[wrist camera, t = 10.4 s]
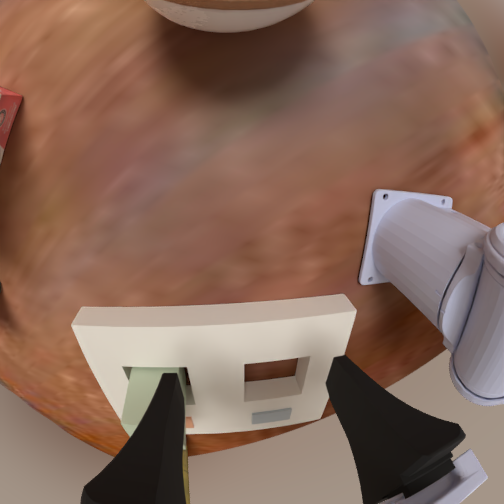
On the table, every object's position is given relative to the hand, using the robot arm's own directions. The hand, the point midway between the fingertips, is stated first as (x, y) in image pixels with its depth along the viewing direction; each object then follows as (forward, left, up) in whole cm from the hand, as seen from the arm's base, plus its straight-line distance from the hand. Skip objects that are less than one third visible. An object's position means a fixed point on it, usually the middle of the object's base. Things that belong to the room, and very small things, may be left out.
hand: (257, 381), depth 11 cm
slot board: (+2, +10, -9) cm, 14 cm away
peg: (+7, +9, -10) cm, 15 cm away
